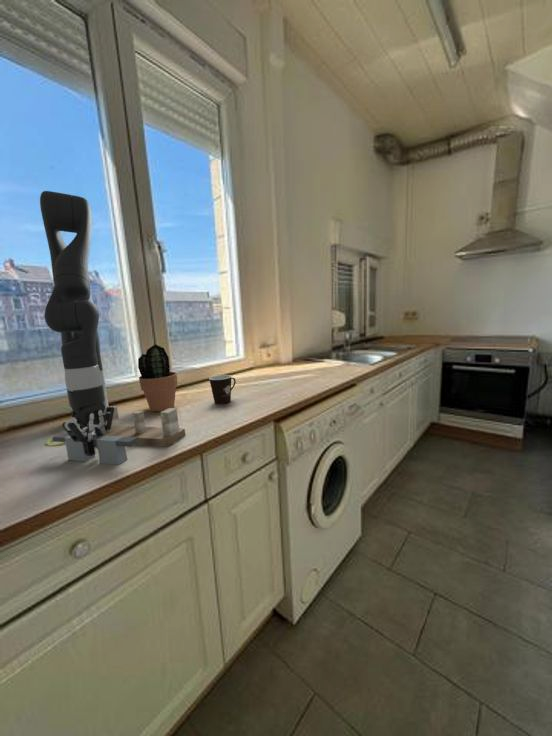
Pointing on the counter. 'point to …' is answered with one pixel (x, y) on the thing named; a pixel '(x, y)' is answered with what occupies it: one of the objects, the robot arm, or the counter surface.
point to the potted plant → (157, 379)
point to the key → (55, 444)
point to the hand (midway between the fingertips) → (96, 451)
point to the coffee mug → (221, 388)
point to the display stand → (149, 429)
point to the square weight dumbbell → (108, 448)
